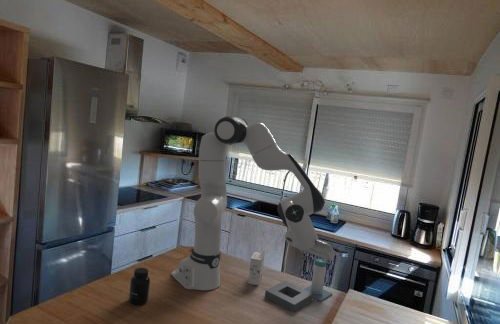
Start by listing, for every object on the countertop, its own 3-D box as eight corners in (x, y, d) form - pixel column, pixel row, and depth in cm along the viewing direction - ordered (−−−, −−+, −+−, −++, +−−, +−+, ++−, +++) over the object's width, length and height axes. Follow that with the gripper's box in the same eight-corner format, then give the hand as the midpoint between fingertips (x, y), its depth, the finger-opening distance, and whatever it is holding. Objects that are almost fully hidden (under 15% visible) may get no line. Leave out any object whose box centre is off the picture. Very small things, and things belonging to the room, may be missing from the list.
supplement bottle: (127, 306, 121) (130, 274, 120) (129, 297, 127) (131, 266, 126) (148, 306, 123) (150, 274, 121) (148, 296, 129) (151, 266, 128)
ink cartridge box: (251, 275, 157) (255, 245, 156) (261, 277, 156) (265, 247, 155) (247, 283, 149) (251, 251, 147) (258, 286, 148) (262, 253, 146)
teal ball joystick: (308, 291, 147) (312, 260, 145) (314, 288, 151) (318, 257, 149) (318, 296, 144) (323, 264, 142) (324, 292, 147) (328, 261, 146)
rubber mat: (300, 292, 147) (300, 290, 146) (312, 285, 154) (312, 284, 154) (320, 301, 140) (321, 300, 140) (332, 294, 148) (332, 293, 148)
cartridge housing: (264, 297, 139) (265, 290, 139) (284, 287, 150) (285, 280, 149) (293, 312, 130) (294, 304, 130) (312, 300, 141) (313, 293, 140)
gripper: (333, 238, 128) (340, 258, 136) (288, 223, 141) (297, 241, 149) (326, 252, 125) (334, 271, 133) (280, 235, 138) (290, 253, 146)
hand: (314, 255), depth 141 cm, fingers open, 8 cm apart
